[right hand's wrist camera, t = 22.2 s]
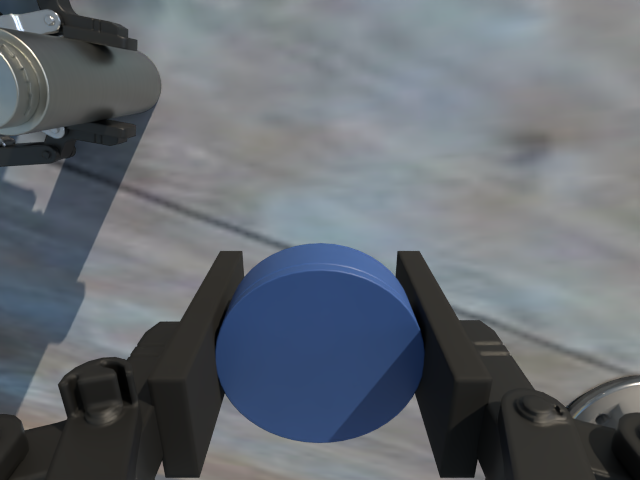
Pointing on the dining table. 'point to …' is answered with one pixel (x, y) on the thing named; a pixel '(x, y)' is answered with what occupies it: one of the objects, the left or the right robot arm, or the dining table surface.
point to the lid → (319, 345)
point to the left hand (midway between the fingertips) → (130, 90)
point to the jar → (69, 82)
